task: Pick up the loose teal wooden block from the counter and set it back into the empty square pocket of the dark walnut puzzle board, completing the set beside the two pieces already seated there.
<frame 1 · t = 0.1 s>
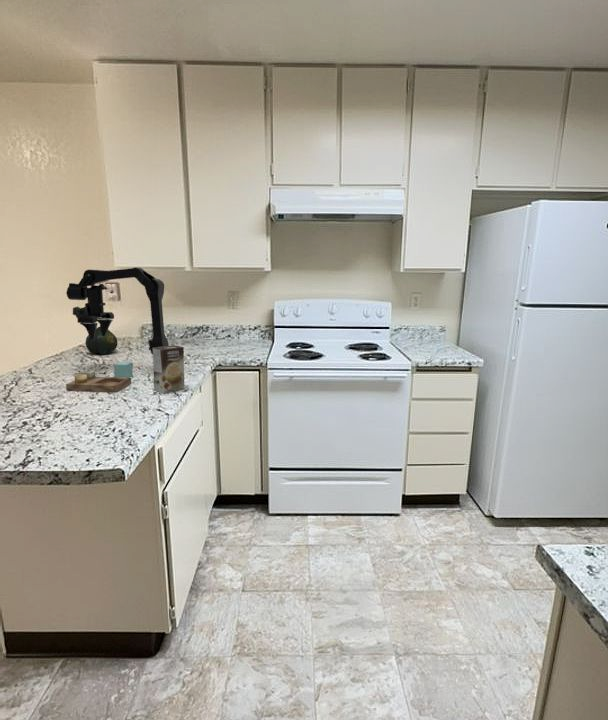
hand: (98, 337, 171), 15 cm above the countertop, tool pointing down, fingers open, 9 cm apart
puzzle board: (100, 387, 151), on the countertop
coffee box: (169, 390, 150), on the countertop
squash: (102, 353, 212), on the countertop
teal block: (123, 377, 165), on the countertop
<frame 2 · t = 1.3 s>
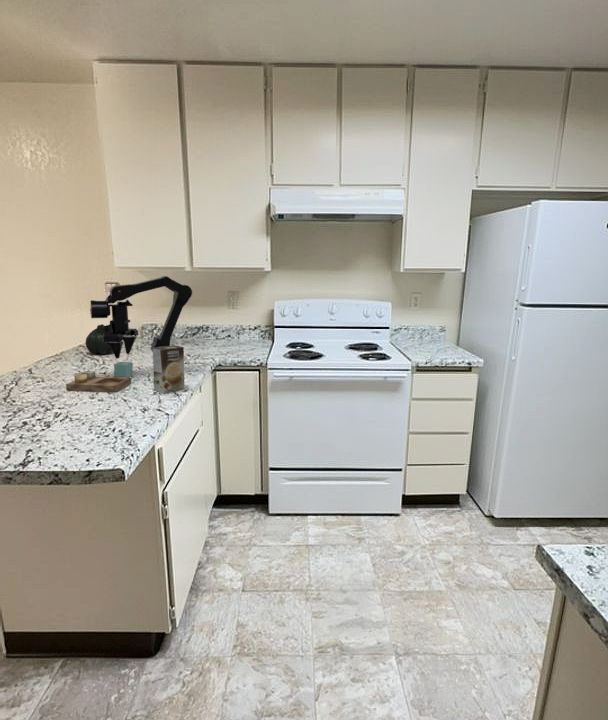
hand: (122, 356, 163), 9 cm above the countertop, tool pointing down, fingers open, 9 cm apart
nothing on the countertop moved.
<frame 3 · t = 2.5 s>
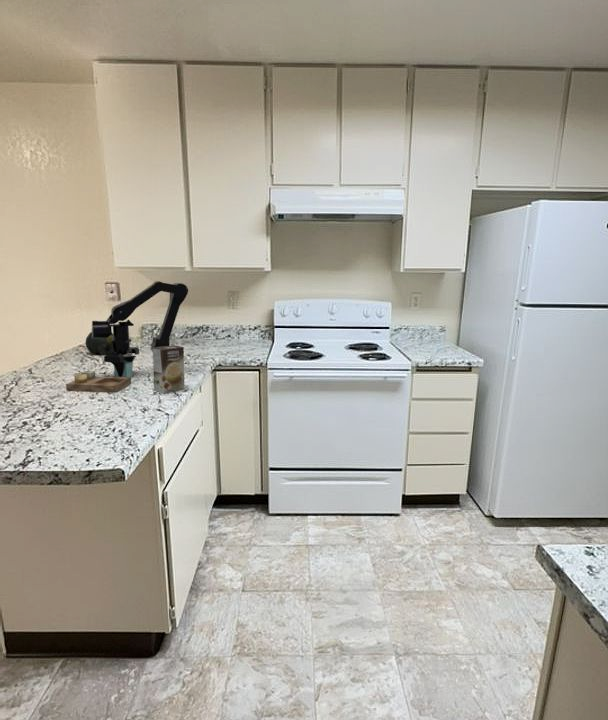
hand: (123, 375, 165), 1 cm above the countertop, tool pointing down, fingers closed on teal block, 5 cm apart
teal block: (123, 377, 165), on the countertop, touching gripper
everything else where it was.
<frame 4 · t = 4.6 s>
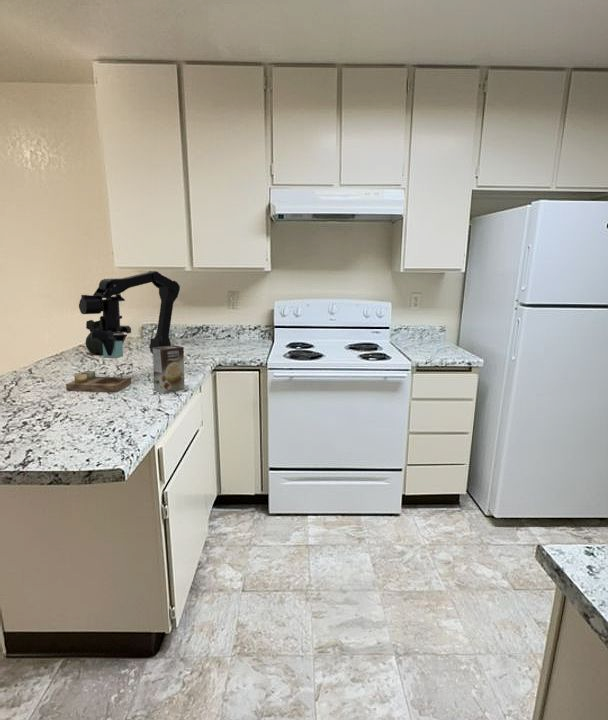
hand: (113, 354, 154), 11 cm above the countertop, tool pointing down, fingers closed on teal block, 5 cm apart
teal block: (113, 356, 154), point 10 cm above the countertop, touching gripper
everything else where it was.
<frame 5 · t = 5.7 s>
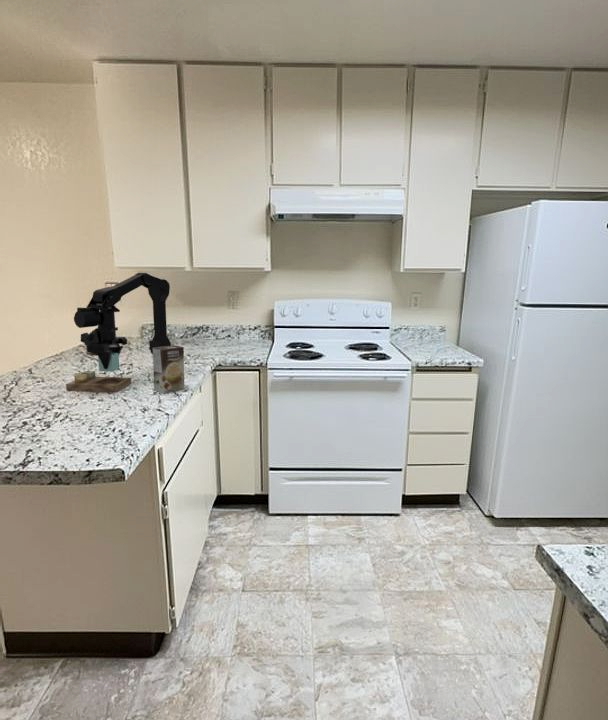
hand: (109, 367, 149), 8 cm above the countertop, tool pointing down, fingers closed on teal block, 5 cm apart
teal block: (109, 369, 149), point 7 cm above the countertop, touching gripper
everything else where it was.
when the fingers open (3 cm above the countertop, at t = 6.8 s): teal block drops 1 cm, resting on puzzle board.
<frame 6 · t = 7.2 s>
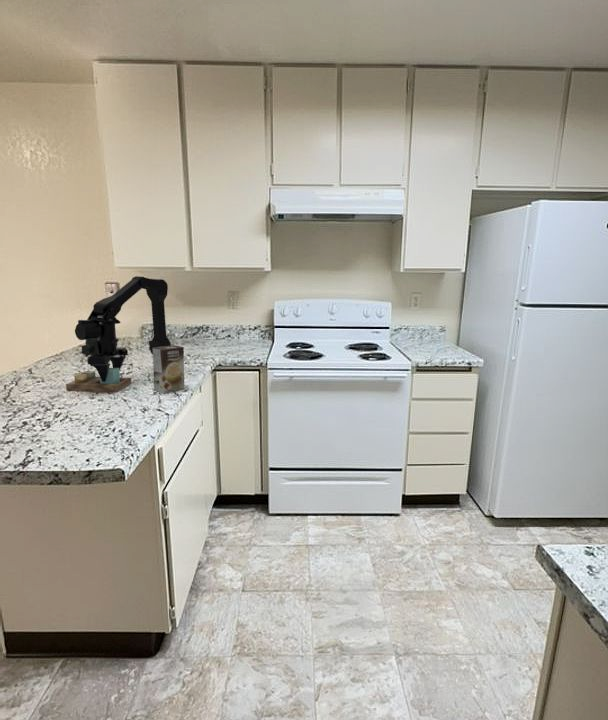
hand: (110, 378, 150), 3 cm above the countertop, tool pointing down, fingers open, 9 cm apart
teal block: (110, 384, 150), point 1 cm above the countertop, touching puzzle board
everything else where it was.
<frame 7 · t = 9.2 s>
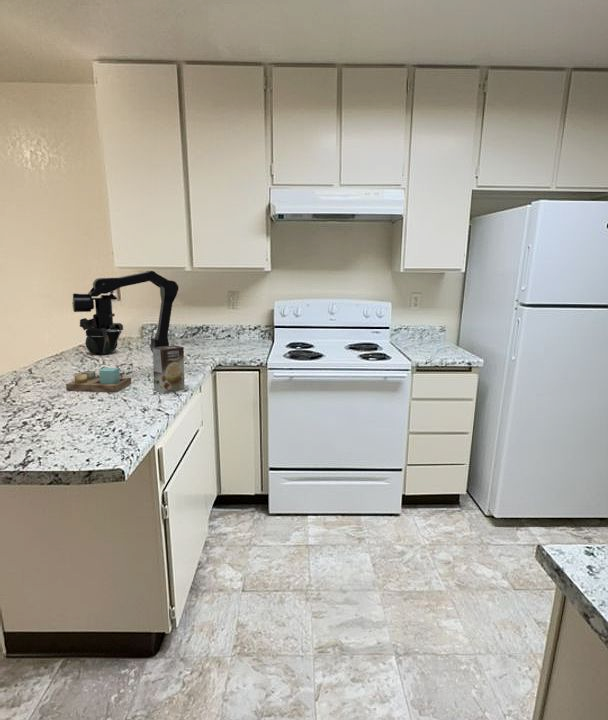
hand: (107, 351, 159), 12 cm above the countertop, tool pointing down, fingers open, 9 cm apart
nothing on the countertop moved.
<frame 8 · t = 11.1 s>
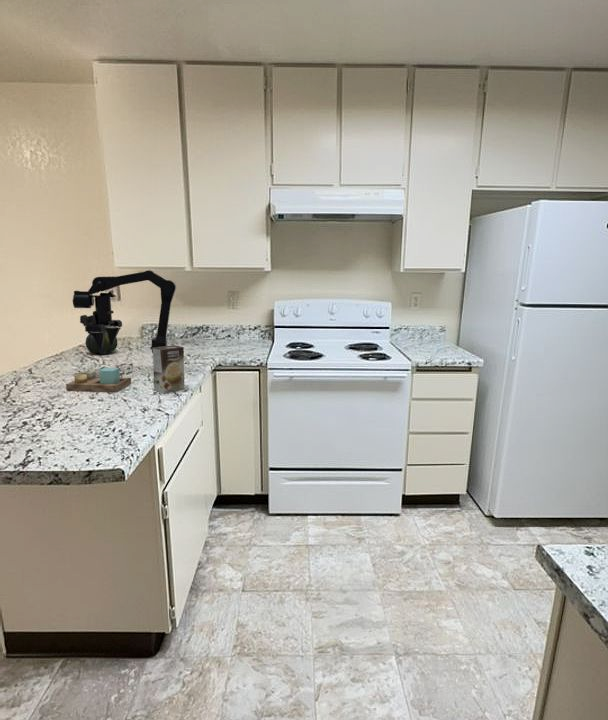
hand: (106, 346, 166), 12 cm above the countertop, tool pointing down, fingers open, 9 cm apart
nothing on the countertop moved.
at the end: teal block 0.1 cm from the target spot on the puzzle board, point 1.0 cm above the puzzle board's base; teal block tilted 0°; the gripper is holding nothing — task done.
